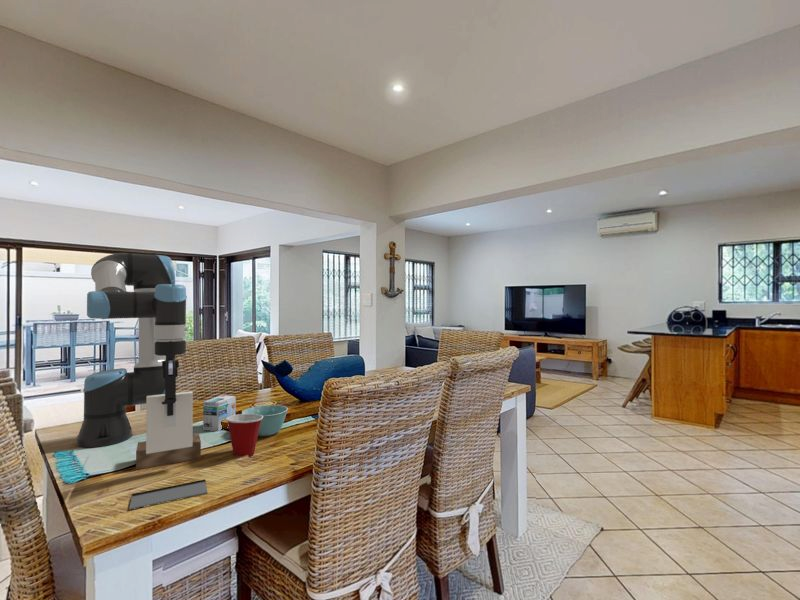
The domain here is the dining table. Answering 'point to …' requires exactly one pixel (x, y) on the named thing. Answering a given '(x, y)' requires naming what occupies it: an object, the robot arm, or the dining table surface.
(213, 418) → the light bulb box
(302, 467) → the dining table surface
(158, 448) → the rectangular insert block
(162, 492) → the rubber mat
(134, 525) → the dining table surface
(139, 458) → the slot box
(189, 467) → the dining table surface
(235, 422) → the plastic cup
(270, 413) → the bowl
